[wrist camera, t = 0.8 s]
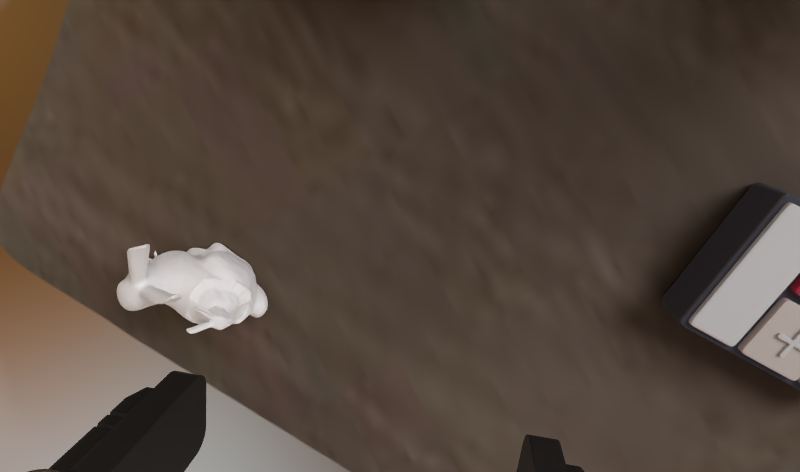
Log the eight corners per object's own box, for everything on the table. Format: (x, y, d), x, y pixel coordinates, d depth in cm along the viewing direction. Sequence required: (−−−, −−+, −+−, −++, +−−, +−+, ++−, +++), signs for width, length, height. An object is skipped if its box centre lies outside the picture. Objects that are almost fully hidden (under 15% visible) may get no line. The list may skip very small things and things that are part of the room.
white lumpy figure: (139, 265, 45) (53, 313, 35) (164, 190, 42) (80, 220, 33) (262, 328, 45) (208, 391, 36) (294, 256, 42) (245, 305, 33)
